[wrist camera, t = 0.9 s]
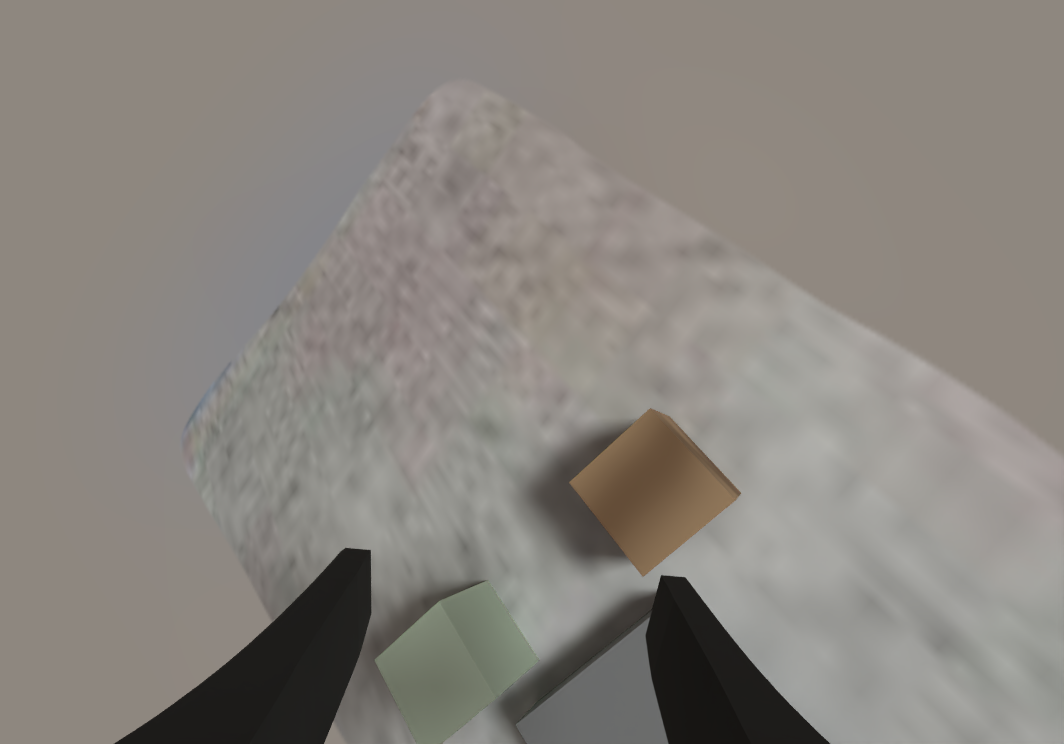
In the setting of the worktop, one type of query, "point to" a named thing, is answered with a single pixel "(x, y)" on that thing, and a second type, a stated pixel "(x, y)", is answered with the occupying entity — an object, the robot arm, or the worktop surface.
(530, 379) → the worktop surface
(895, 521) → the worktop surface
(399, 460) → the worktop surface
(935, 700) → the worktop surface
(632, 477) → the walnut cube
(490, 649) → the sage block
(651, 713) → the charcoal slab
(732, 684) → the robot arm
